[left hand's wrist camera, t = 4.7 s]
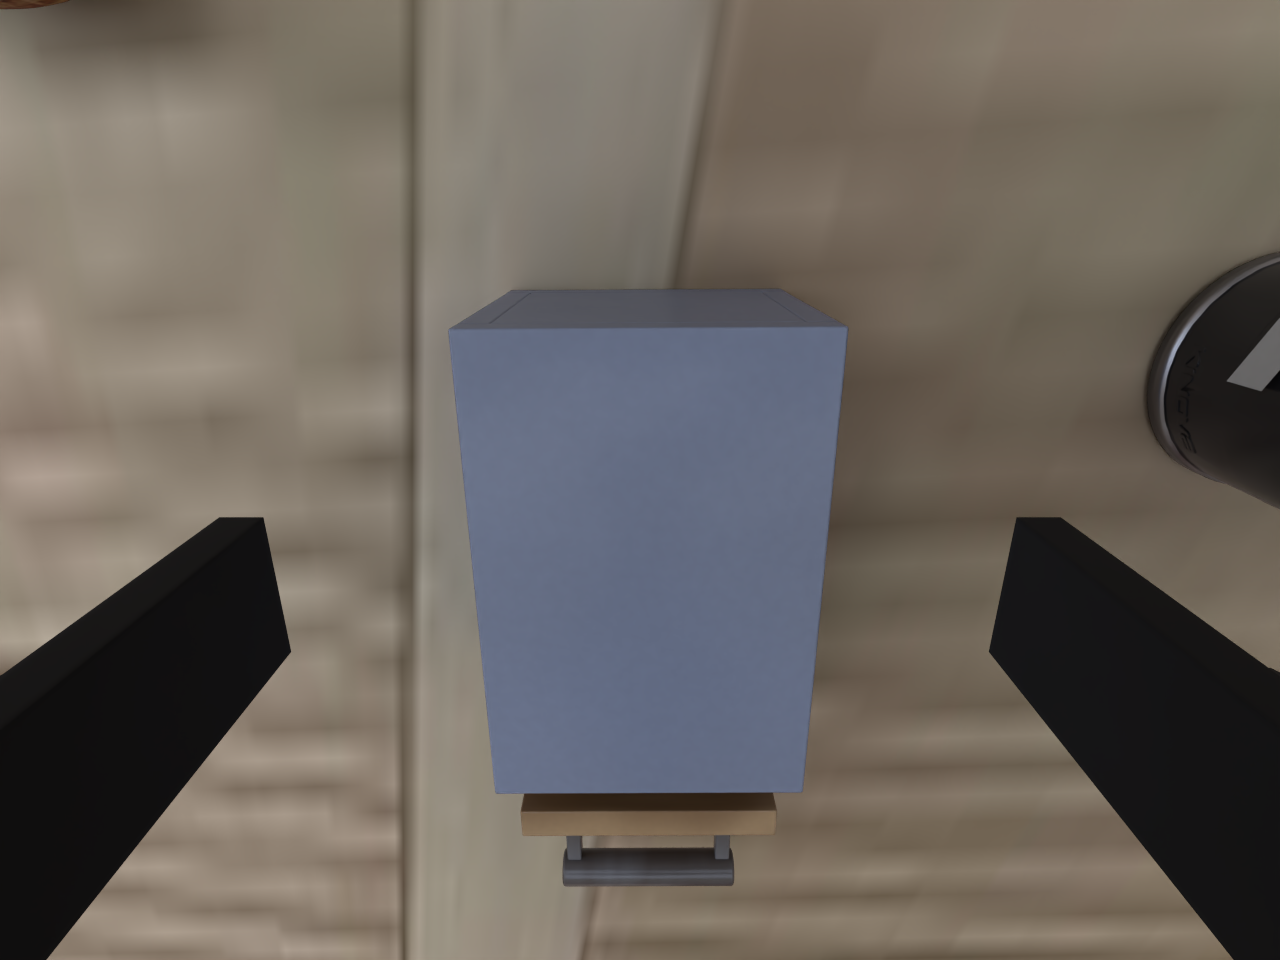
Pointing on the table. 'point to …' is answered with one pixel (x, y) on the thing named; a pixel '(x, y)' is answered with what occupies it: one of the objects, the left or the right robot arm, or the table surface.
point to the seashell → (27, 3)
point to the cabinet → (648, 532)
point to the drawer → (648, 818)
